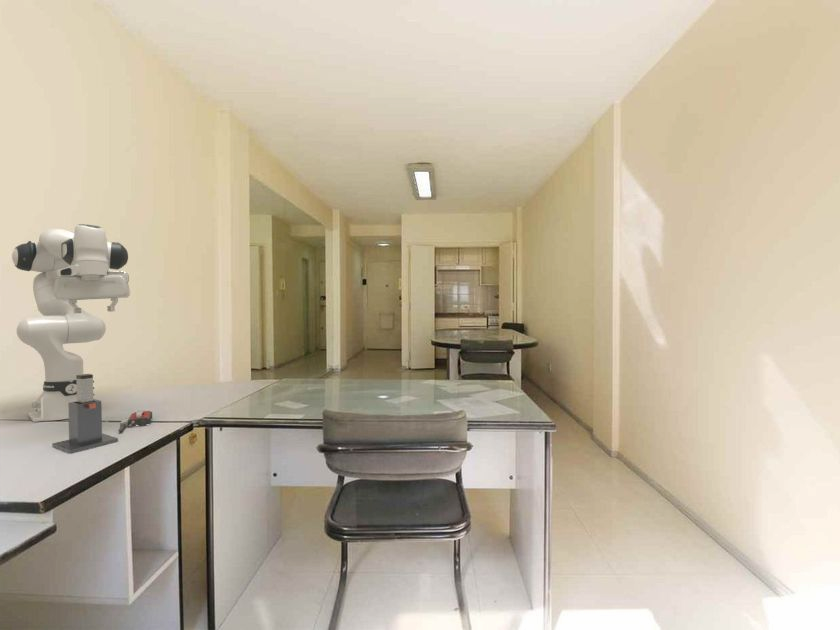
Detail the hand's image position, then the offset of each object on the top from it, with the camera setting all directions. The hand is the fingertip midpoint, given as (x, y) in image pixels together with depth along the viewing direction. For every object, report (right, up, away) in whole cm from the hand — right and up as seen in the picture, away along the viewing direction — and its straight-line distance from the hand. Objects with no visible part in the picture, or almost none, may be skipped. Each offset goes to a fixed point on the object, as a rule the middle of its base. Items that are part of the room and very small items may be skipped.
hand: (94, 312), depth 134 cm
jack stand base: (+7, -41, -12) cm, 43 cm away
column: (+7, -39, -12) cm, 42 cm away
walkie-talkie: (+8, -41, +8) cm, 42 cm away
